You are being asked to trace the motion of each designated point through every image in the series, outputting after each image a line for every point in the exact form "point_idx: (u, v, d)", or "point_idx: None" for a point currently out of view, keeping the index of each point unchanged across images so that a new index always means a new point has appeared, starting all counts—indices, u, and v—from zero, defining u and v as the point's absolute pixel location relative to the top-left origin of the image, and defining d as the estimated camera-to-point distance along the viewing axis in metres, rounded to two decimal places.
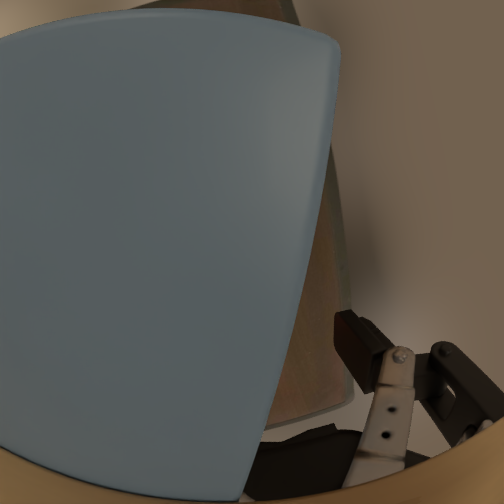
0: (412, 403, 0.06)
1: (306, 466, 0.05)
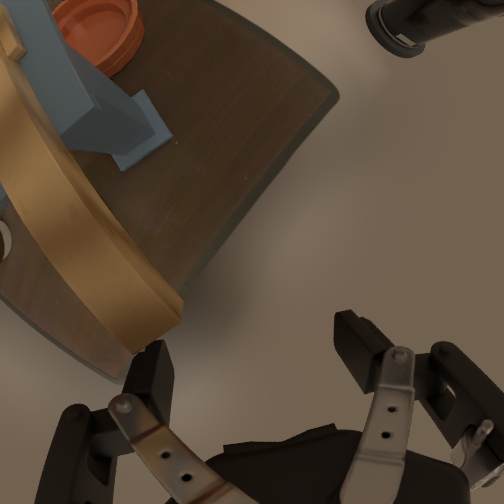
0: (412, 403, 0.06)
1: (306, 466, 0.05)
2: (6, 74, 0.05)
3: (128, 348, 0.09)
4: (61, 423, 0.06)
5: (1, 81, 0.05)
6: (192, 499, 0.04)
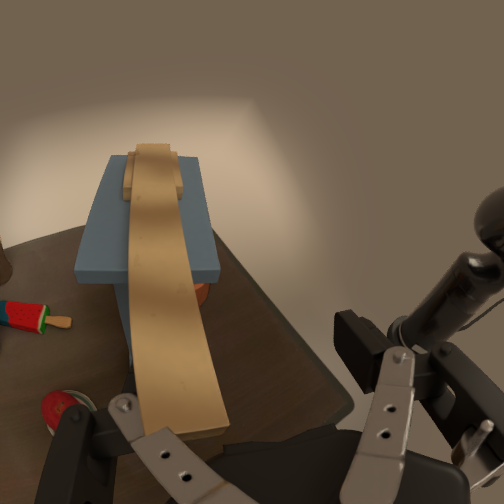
0: (412, 403, 0.06)
1: (306, 466, 0.05)
2: (175, 190, 0.14)
3: (145, 426, 0.06)
4: (61, 423, 0.06)
5: (168, 191, 0.14)
6: (192, 499, 0.04)
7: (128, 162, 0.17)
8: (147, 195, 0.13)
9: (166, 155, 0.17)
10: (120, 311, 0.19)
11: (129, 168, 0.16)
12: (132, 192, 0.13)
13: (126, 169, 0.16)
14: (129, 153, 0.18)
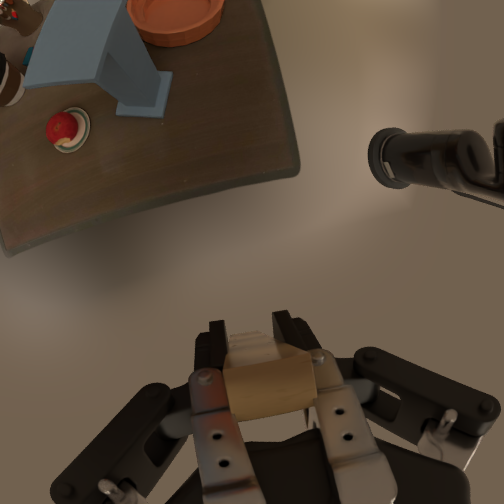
0: (356, 399, 0.07)
1: (306, 466, 0.05)
2: None
3: (225, 367, 0.07)
4: (136, 398, 0.08)
5: (258, 335, 0.18)
6: (216, 484, 0.04)
7: None
8: (242, 338, 0.18)
9: None
10: None
11: None
12: (230, 340, 0.18)
13: None
14: None
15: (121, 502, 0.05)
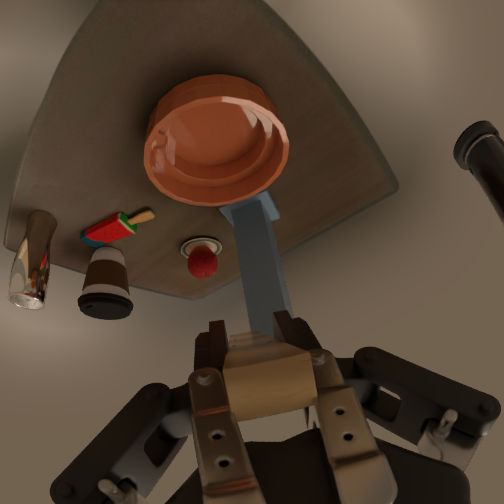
0: (357, 399, 0.07)
1: (306, 466, 0.05)
2: (263, 333, 0.18)
3: (225, 367, 0.07)
4: (136, 398, 0.08)
5: (258, 334, 0.18)
6: (216, 484, 0.04)
7: None
8: (241, 338, 0.18)
9: (255, 331, 0.23)
10: None
11: None
12: (229, 340, 0.18)
13: None
14: None
15: (121, 502, 0.05)
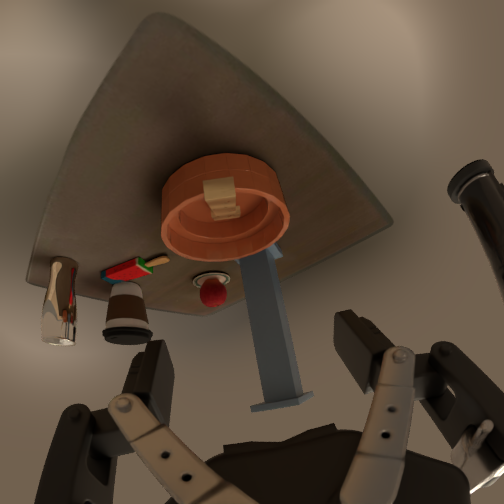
0: (412, 403, 0.06)
1: (306, 466, 0.05)
2: None
3: None
4: (61, 423, 0.06)
5: None
6: (192, 499, 0.04)
7: None
8: None
9: None
10: None
11: None
12: None
13: None
14: None
15: None
